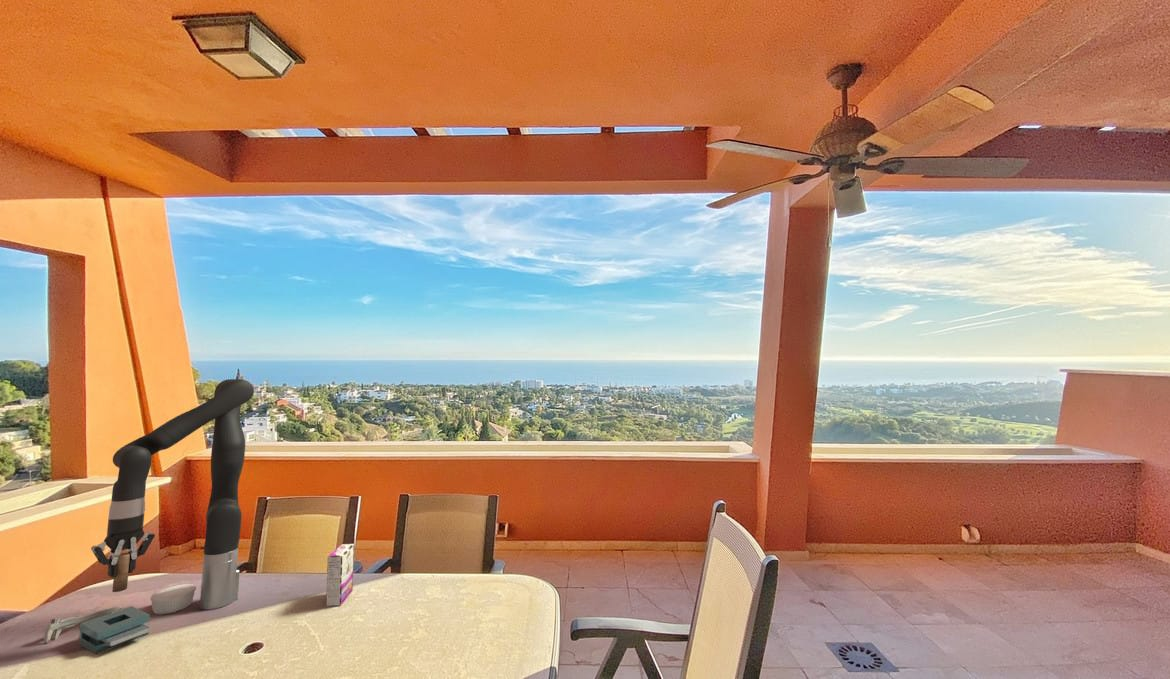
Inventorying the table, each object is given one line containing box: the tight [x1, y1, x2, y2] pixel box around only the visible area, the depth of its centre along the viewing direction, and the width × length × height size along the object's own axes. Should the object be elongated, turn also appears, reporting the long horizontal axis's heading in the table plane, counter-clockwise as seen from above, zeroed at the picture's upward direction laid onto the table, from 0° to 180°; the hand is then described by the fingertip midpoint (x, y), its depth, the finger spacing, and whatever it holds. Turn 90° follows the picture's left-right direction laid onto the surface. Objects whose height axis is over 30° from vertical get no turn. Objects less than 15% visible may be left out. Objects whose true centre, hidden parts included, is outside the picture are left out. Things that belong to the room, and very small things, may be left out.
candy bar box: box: [325, 543, 355, 608], centre depth 155 cm, size 11×5×16 cm, turn 8°
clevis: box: [78, 605, 151, 655], centre depth 130 cm, size 11×16×6 cm
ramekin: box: [150, 583, 197, 615], centre depth 149 cm, size 11×11×5 cm
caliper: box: [43, 605, 123, 644], centre depth 138 cm, size 20×1×6 cm, turn 178°
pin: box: [111, 552, 130, 593], centre depth 132 cm, size 3×3×10 cm
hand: (121, 574), depth 132 cm, fingers closed on pin, 3 cm apart
